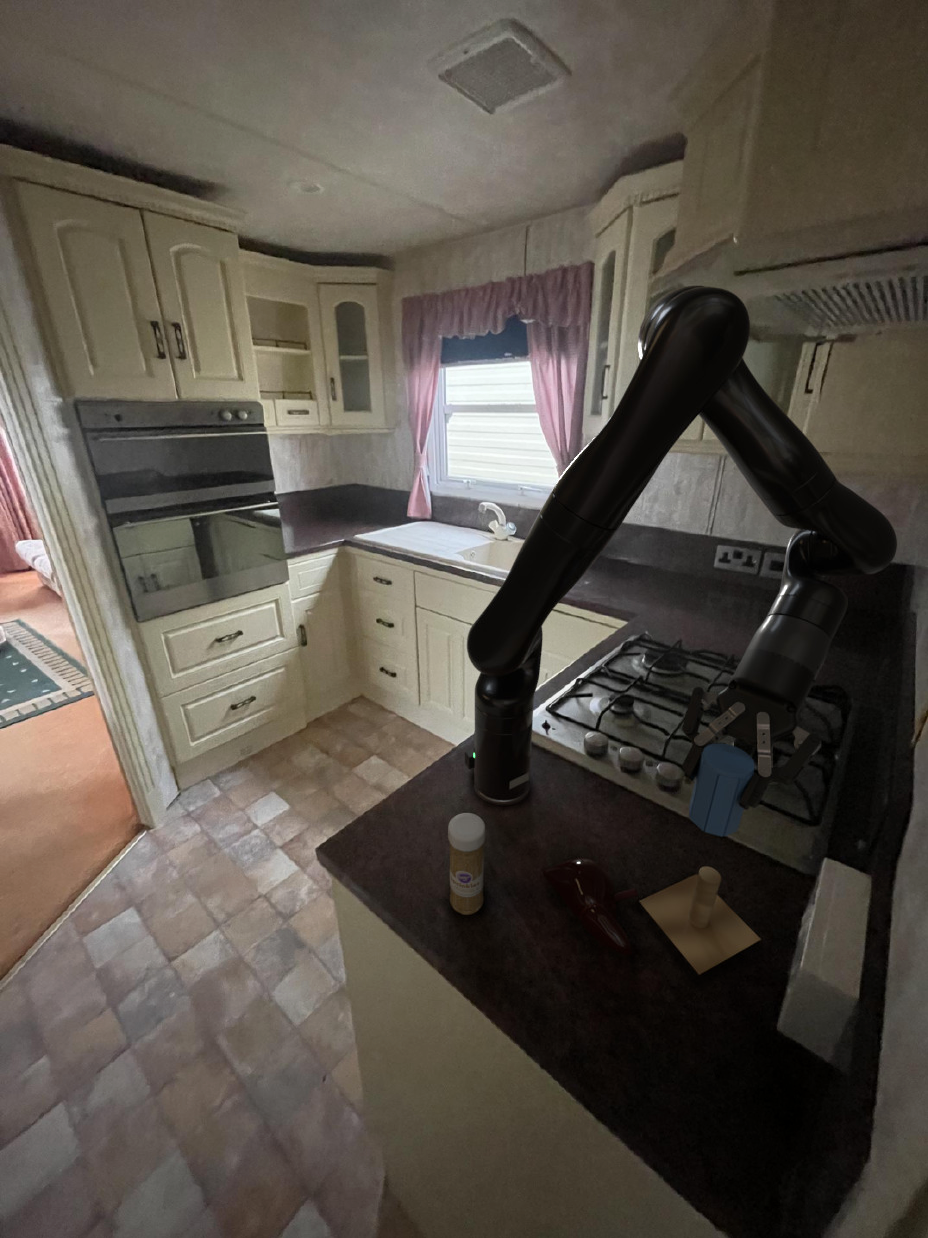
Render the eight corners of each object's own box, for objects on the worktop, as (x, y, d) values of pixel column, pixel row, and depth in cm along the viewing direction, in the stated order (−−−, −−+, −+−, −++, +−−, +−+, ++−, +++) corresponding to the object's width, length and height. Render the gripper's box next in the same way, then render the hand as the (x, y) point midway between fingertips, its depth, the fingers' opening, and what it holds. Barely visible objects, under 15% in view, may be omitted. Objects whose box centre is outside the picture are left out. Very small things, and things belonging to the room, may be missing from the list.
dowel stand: (637, 907, 67) (647, 857, 63) (695, 879, 71) (707, 830, 67) (697, 981, 59) (713, 928, 55) (759, 945, 62) (777, 894, 59)
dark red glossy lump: (558, 882, 73) (627, 857, 70) (576, 978, 64) (656, 954, 60) (536, 862, 70) (606, 835, 67) (551, 960, 60) (634, 933, 57)
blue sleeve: (679, 809, 62) (692, 750, 58) (711, 797, 64) (726, 738, 60) (714, 842, 58) (730, 779, 54) (747, 827, 60) (765, 766, 56)
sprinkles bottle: (451, 918, 66) (449, 842, 60) (448, 886, 70) (446, 812, 64) (486, 914, 66) (487, 838, 61) (482, 883, 70) (482, 809, 65)
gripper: (712, 629, 62) (647, 753, 60) (854, 675, 52) (782, 824, 50) (722, 654, 67) (662, 768, 65) (852, 699, 58) (787, 834, 55)
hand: (715, 791), depth 57 cm, fingers closed on blue sleeve, 5 cm apart
